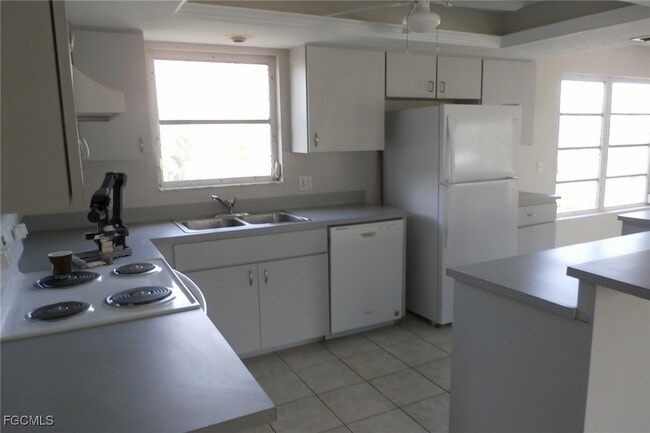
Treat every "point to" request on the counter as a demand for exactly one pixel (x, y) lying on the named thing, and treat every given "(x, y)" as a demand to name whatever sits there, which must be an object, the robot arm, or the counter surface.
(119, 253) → the channel
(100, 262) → the pad
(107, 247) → the maple block
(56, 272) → the coffee mug
